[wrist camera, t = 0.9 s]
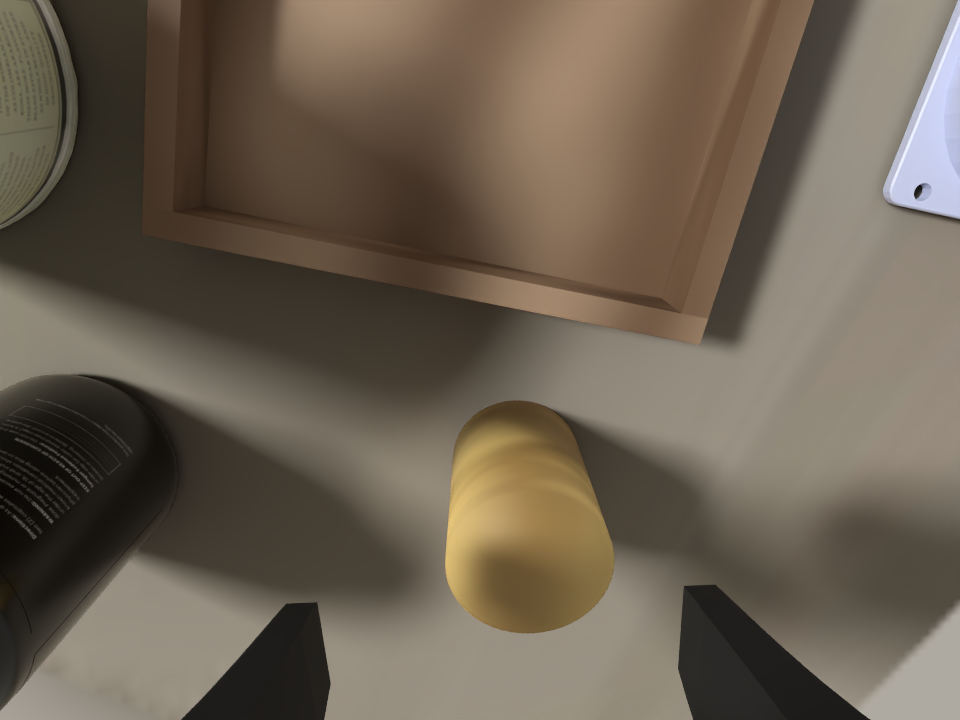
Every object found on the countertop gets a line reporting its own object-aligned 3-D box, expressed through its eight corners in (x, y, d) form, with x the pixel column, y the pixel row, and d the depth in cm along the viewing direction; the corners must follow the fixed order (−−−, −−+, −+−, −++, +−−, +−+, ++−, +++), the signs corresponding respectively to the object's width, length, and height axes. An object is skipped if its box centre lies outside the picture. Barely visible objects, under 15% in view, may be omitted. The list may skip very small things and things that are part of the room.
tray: (804, -99, 16) (862, -144, 14) (672, 321, 20) (699, 344, 18) (206, -250, 15) (155, -329, 13) (185, 224, 19) (141, 235, 16)
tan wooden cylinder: (592, 413, 21) (634, 507, 15) (561, 521, 23) (589, 644, 17) (466, 389, 21) (462, 477, 15) (443, 501, 22) (431, 619, 17)
